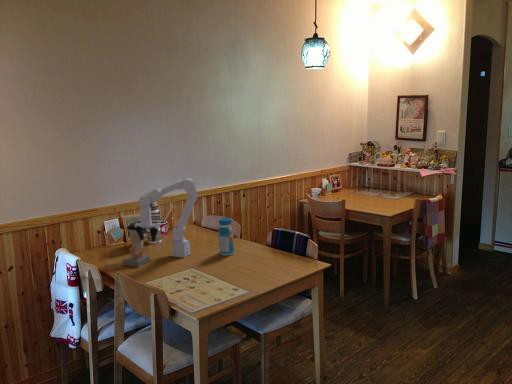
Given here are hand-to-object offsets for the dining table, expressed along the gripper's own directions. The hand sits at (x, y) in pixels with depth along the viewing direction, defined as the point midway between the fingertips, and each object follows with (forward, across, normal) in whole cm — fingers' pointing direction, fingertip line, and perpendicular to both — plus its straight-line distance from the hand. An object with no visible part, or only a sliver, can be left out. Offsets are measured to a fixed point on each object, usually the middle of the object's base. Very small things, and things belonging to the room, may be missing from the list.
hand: (147, 240), depth 258 cm
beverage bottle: (+10, +39, +18) cm, 45 cm away
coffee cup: (+10, -16, +11) cm, 22 cm away
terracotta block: (+7, -1, -10) cm, 12 cm away
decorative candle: (+10, -14, +27) cm, 32 cm away
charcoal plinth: (+10, -1, -10) cm, 14 cm away
